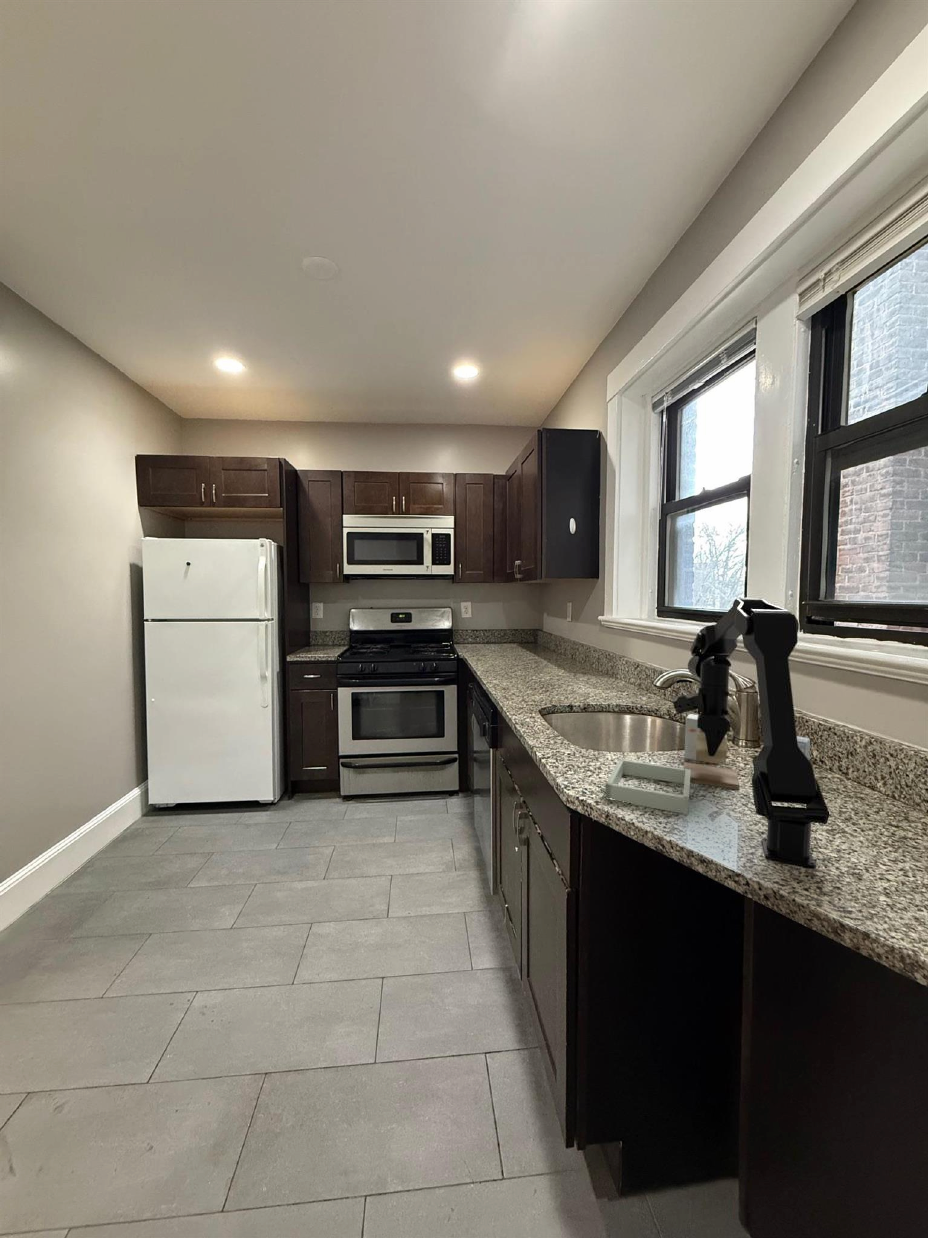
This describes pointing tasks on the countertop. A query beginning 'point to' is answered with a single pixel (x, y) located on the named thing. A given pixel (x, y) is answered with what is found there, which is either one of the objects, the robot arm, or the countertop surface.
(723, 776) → the walnut board
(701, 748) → the pine block
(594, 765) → the countertop surface
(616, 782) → the sage bin
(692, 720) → the small box
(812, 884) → the countertop surface
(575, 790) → the countertop surface
